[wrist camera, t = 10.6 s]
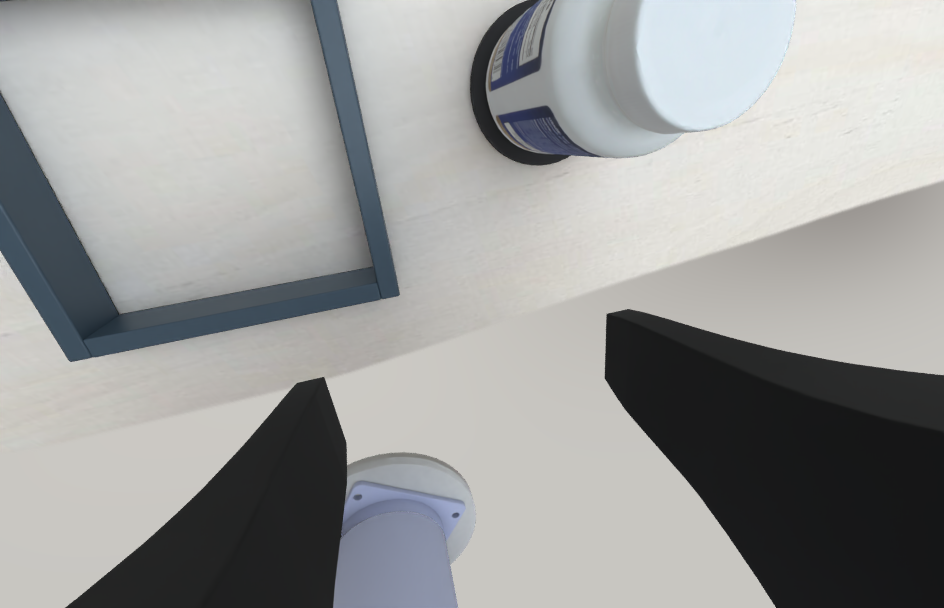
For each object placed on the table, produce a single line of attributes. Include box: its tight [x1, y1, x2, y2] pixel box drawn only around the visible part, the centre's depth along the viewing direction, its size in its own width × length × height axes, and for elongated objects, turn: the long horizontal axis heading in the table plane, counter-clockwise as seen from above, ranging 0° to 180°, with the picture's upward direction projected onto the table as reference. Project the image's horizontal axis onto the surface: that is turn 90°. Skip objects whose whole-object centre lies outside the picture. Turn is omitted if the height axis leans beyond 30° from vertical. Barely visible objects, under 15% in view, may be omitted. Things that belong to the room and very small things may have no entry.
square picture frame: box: [0, 0, 400, 362], centre depth 15 cm, size 13×13×2 cm
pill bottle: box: [486, 0, 796, 158], centre depth 13 cm, size 5×5×10 cm
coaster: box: [470, 0, 571, 165], centre depth 18 cm, size 6×6×1 cm
